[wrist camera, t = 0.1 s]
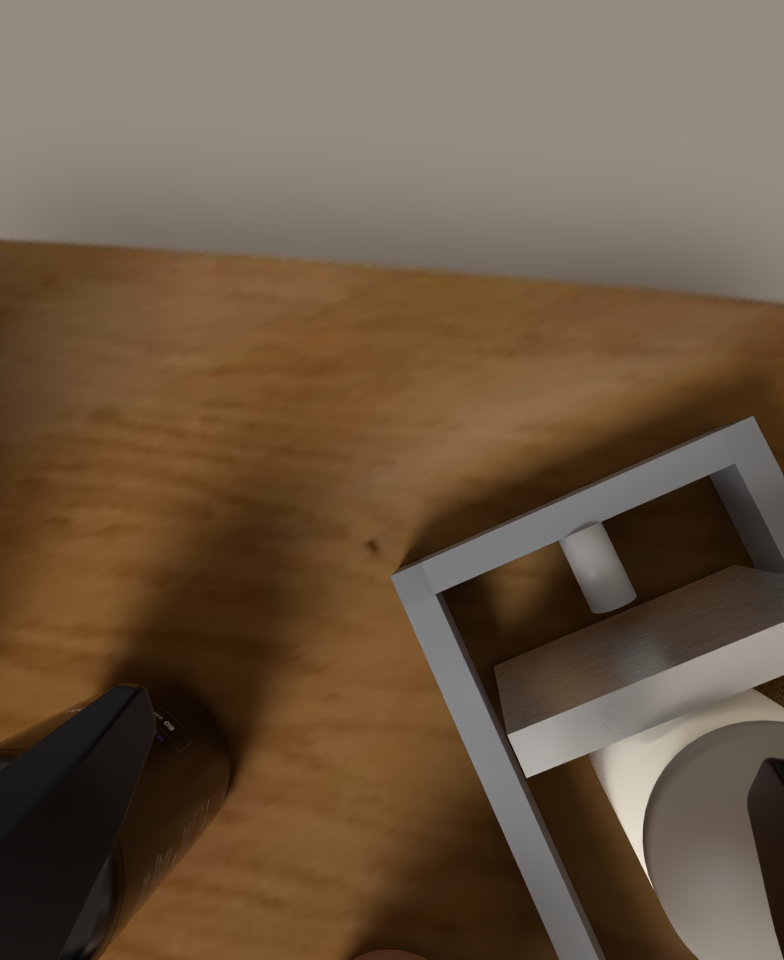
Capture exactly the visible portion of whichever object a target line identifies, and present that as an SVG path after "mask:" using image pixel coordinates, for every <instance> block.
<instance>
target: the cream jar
mask: <svg viewBox="0 0 784 960" xmlns="http://www.w3.org/2000/svg"><path fill="white" fill-rule="evenodd" d="M587 756H588V758H589V760H590V762H591V764H592V766H593V768H594V771H595V773H596V775H597V777H598V779H599V781H600V783H601V785H602V787H603V789H604V791H605V793H606V795H607V797H608V799H609V801H610V803H611V805H612V807H613V809H614V811H615V813H616V815H617V817H618V819H619V821H620V823H621V825H622V827H623V829H624V831H625V833H626V835H627V837H628V839H629V841H630V843H631V845H632V847H633V849H634V851H635V853H636V855H637V857H638V859H639V861H640V863H641V865H642V867H643V869H644V871H645V873H646V875H647V877H648V879H649V881H650V883H651V885H652V887H653V889H654V891H655V893H656V895H657V897H658V899H659V901H660V903H661V905H662V907H663V909H664V911H665V913H666V915H667V917H668V919H669V920H670V922H671V924H672V926H673V928H674V929H675V931H676V932H677V934H678V935H679V937H680V938H681V939H682V941H683V942H684V944H685V945H686V946H687V947H688V948H689V949H690V950H691V951H692V953H693V954H694V955H695V956H696V957H697V958H698V959H699V960H783V957H782V953H781V950H780V947H779V944H778V940H777V937H776V934H775V930H774V926H773V922H772V918H771V914H770V909H769V905H768V900H767V896H766V891H765V887H764V882H763V878H762V873H761V869H760V864H759V860H758V855H757V851H756V846H755V842H754V837H753V833H752V828H751V824H750V819H749V815H748V809H747V794H748V791H749V789H750V786H751V784H752V782H753V780H754V778H755V776H756V774H757V772H758V770H759V767H760V765H761V763H762V762H763V760H765V759H766V758H768V757H774V758H782V759H784V707H782V706H780V705H779V704H777V703H776V702H774V701H772V700H771V699H769V698H768V697H766V696H764V695H763V694H761V693H760V692H758V691H756V690H755V689H753V688H750V689H748V690H745V691H743V692H740V693H738V694H735V695H733V696H730V697H728V698H725V699H723V700H720V701H718V702H715V703H713V704H710V705H708V706H705V707H703V708H700V709H698V710H695V711H693V712H690V713H688V714H685V715H683V716H680V717H678V718H675V719H673V720H670V721H668V722H665V723H663V724H660V725H658V726H655V727H653V728H650V729H648V730H645V731H643V732H640V733H638V734H635V735H633V736H630V737H628V738H625V739H623V740H620V741H618V742H615V743H613V744H610V745H608V746H605V747H603V748H600V749H598V750H596V751H593V752H591V753H588V754H587Z"/></svg>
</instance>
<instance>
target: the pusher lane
mask: <svg viewBox="0 0 784 960" xmlns="http://www.w3.org/2000/svg"><path fill="white" fill-rule="evenodd" d="M707 475H709V476H710V478H711V480H712V482H713V484H714V486H715V488H716V490H717V492H718V494H719V496H720V498H721V500H722V502H723V504H724V506H725V508H726V510H727V512H728V514H729V516H730V518H731V520H732V522H733V524H734V526H735V528H736V530H737V532H738V534H739V536H740V538H741V540H742V542H743V544H744V546H745V548H746V550H747V552H748V554H749V556H750V558H751V560H752V562H753V564H754V566H755V568H756V569H758V570H763V571H768V572H772V573H777V574H782V575H784V475H783V473H782V471H781V469H780V467H779V465H778V463H777V462H776V460H775V458H774V456H773V454H772V452H771V450H770V448H769V446H768V444H767V442H766V440H765V438H764V436H763V434H762V432H761V430H760V428H759V426H758V424H757V422H756V420H755V418H754V416H751V417H748V418H744V419H741V420H738V421H735V422H732V423H728V424H725V425H722V426H720V427H717V428H715V429H713V430H711V431H708V432H706V433H704V434H701V435H699V436H697V437H695V438H692V439H690V440H688V441H686V442H683V443H681V444H679V445H677V446H674V447H672V448H670V449H668V450H665V451H663V452H661V453H659V454H656V455H654V456H652V457H650V458H647V459H645V460H643V461H641V462H638V463H636V464H634V465H631V466H629V467H627V468H625V469H622V470H620V471H618V472H616V473H613V474H611V475H609V476H607V477H604V478H602V479H600V480H598V481H595V482H593V483H591V484H589V485H586V486H584V487H582V488H580V489H577V490H575V491H573V492H571V493H568V494H566V495H564V496H561V497H559V498H557V499H555V500H552V501H550V502H548V503H546V504H543V505H541V506H539V507H537V508H534V509H532V510H530V511H528V512H525V513H523V514H521V515H519V516H516V517H514V518H512V519H510V520H507V521H505V522H503V523H501V524H498V525H496V526H494V527H491V528H489V529H487V530H485V531H482V532H480V533H478V534H476V535H473V536H471V537H469V538H467V539H464V540H462V541H460V542H458V543H455V544H453V545H451V546H449V547H446V548H444V549H442V550H440V551H437V552H435V553H433V554H431V555H428V556H426V557H424V558H421V559H419V560H417V561H415V562H412V563H410V564H408V565H406V566H403V567H401V568H399V569H397V570H396V571H395V572H394V573H393V574H392V575H391V576H390V577H391V579H392V581H393V583H394V586H395V588H396V590H397V592H398V595H399V597H400V599H401V602H402V604H403V606H404V608H405V611H406V613H407V615H408V617H409V620H410V622H411V624H412V626H413V629H414V631H415V633H416V636H417V638H418V640H419V642H420V645H421V647H422V649H423V651H424V654H425V656H426V658H427V660H428V663H429V665H430V667H431V670H432V672H433V674H434V676H435V679H436V681H437V683H438V685H439V688H440V690H441V692H442V694H443V697H444V699H445V701H446V704H447V706H448V708H449V710H450V713H451V715H452V717H453V719H454V722H455V724H456V726H457V728H458V731H459V733H460V735H461V738H462V740H463V742H464V744H465V747H466V749H467V751H468V753H469V756H470V758H471V760H472V762H473V765H474V767H475V769H476V772H477V774H478V776H479V778H480V781H481V783H482V785H483V787H484V790H485V792H486V794H487V796H488V799H489V801H490V803H491V806H492V808H493V810H494V812H495V815H496V817H497V819H498V821H499V824H500V826H501V828H502V830H503V833H504V835H505V837H506V840H507V842H508V844H509V846H510V849H511V851H512V853H513V855H514V858H515V860H516V862H517V864H518V867H519V869H520V871H521V874H522V876H523V878H524V880H525V883H526V885H527V887H528V889H529V892H530V894H531V896H532V898H533V901H534V903H535V905H536V908H537V910H538V912H539V914H540V917H541V919H542V921H543V923H544V926H545V928H546V930H547V932H548V935H549V937H550V939H551V942H552V944H553V946H554V948H555V951H556V953H557V955H558V957H559V960H606V958H605V956H604V954H603V952H602V949H601V947H600V945H599V943H598V941H597V938H596V936H595V934H594V932H593V929H592V927H591V925H590V923H589V920H588V918H587V916H586V914H585V912H584V909H583V907H582V905H581V903H580V900H579V898H578V896H577V894H576V891H575V889H574V887H573V885H572V883H571V880H570V878H569V876H568V874H567V871H566V869H565V867H564V865H563V862H562V860H561V858H560V856H559V854H558V851H557V849H556V847H555V845H554V842H553V840H552V838H551V836H550V833H549V831H548V829H547V827H546V825H545V822H544V820H543V818H542V816H541V813H540V811H539V809H538V807H537V804H536V802H535V800H534V798H533V795H532V793H531V791H530V789H529V787H528V784H527V782H526V780H525V778H524V775H523V773H522V771H521V769H520V766H519V764H518V762H517V760H516V758H515V755H514V753H513V751H512V749H511V746H510V744H509V742H508V740H507V737H506V735H505V733H504V731H503V729H502V726H501V724H500V722H499V720H498V717H497V715H496V713H495V711H494V708H493V706H492V704H491V702H490V700H489V697H488V695H487V693H486V691H485V688H484V686H483V684H482V682H481V679H480V677H479V675H478V673H477V671H476V668H475V666H474V664H473V662H472V659H471V657H470V655H469V653H468V650H467V648H466V646H465V644H464V641H463V639H462V637H461V635H460V633H459V630H458V628H457V626H456V624H455V621H454V619H453V617H452V615H451V612H450V610H449V608H448V606H447V604H446V601H445V599H444V597H443V595H442V592H441V591H444V590H446V589H448V588H450V587H453V586H455V585H457V584H460V583H462V582H464V581H466V580H469V579H471V578H473V577H476V576H478V575H480V574H483V573H485V572H487V571H489V570H492V569H494V568H496V567H499V566H501V565H503V564H505V563H508V562H510V561H512V560H515V559H517V558H519V557H521V556H524V555H526V554H528V553H531V552H533V551H535V550H538V549H540V548H542V547H544V546H547V545H549V544H551V543H554V542H556V541H559V543H560V545H561V547H562V549H563V551H564V554H565V556H566V558H567V560H568V562H569V564H570V566H571V568H572V571H573V573H574V575H575V577H576V579H577V581H578V583H579V586H580V588H581V590H582V592H583V594H584V596H585V598H586V600H587V603H588V605H589V607H590V609H591V611H592V613H594V614H599V613H605V612H609V611H612V610H615V609H618V608H620V607H622V606H624V605H626V604H628V603H630V602H632V601H633V600H634V599H635V598H636V597H637V595H636V593H635V591H634V589H633V587H632V585H631V583H630V580H629V578H628V576H627V574H626V572H625V570H624V568H623V566H622V564H621V562H620V560H619V557H618V555H617V553H616V551H615V549H614V547H613V545H612V543H611V541H610V539H609V537H608V534H607V532H606V530H605V528H604V526H603V524H602V521H604V520H606V519H609V518H611V517H613V516H615V515H618V514H620V513H622V512H625V511H627V510H629V509H632V508H634V507H636V506H638V505H641V504H643V503H645V502H648V501H650V500H652V499H654V498H657V497H659V496H661V495H664V494H666V493H668V492H671V491H673V490H675V489H677V488H680V487H682V486H684V485H687V484H689V483H691V482H693V481H696V480H698V479H700V478H703V477H705V476H707Z"/></svg>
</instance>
